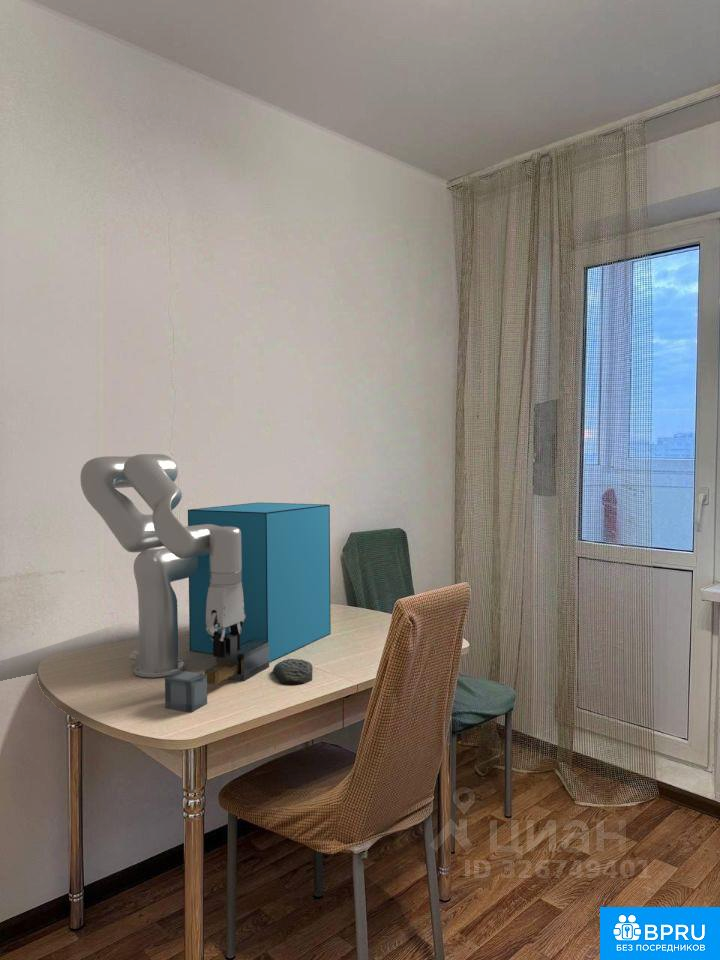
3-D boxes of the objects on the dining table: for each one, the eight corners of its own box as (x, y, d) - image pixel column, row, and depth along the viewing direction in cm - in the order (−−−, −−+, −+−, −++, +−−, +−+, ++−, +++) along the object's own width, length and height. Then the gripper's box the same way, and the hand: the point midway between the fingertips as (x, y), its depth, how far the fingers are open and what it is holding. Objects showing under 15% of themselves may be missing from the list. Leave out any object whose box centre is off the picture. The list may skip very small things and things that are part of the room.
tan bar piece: (202, 682, 156) (202, 642, 156) (253, 657, 176) (252, 621, 176) (217, 685, 154) (216, 644, 154) (266, 658, 175) (266, 622, 174)
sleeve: (224, 678, 165) (224, 652, 165) (250, 664, 176) (250, 639, 176) (244, 681, 163) (243, 654, 163) (269, 666, 174) (269, 641, 174)
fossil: (312, 669, 173) (312, 654, 173) (312, 686, 160) (312, 669, 160) (273, 670, 173) (273, 655, 173) (270, 687, 160) (269, 671, 160)
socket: (165, 707, 146) (164, 678, 146) (181, 699, 151) (180, 670, 151) (191, 712, 143) (191, 682, 143) (207, 703, 148) (206, 674, 148)
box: (330, 634, 207) (329, 504, 206) (267, 663, 177) (266, 512, 176) (259, 624, 219) (258, 502, 218) (189, 651, 189) (187, 509, 188)
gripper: (232, 571, 170) (233, 642, 171) (190, 583, 154) (192, 661, 155) (258, 573, 167) (259, 645, 168) (218, 585, 151) (219, 665, 152)
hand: (226, 652), depth 161 cm, fingers open, 5 cm apart
